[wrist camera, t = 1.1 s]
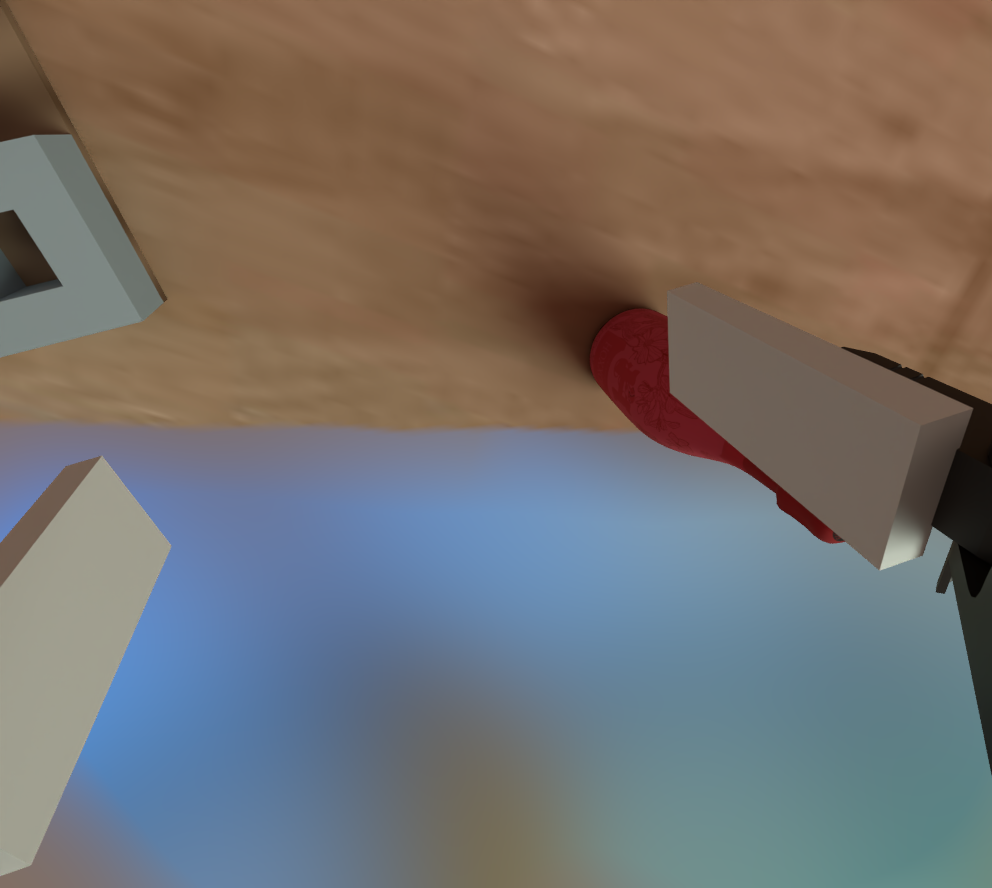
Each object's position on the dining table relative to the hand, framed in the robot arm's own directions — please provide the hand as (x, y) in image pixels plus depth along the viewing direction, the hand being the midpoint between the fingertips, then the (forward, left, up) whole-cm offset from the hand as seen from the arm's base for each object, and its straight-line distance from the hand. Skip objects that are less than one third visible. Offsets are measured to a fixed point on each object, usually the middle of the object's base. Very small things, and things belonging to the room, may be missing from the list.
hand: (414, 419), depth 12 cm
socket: (-3, -24, -36) cm, 44 cm away
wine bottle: (+19, +22, -38) cm, 47 cm away
